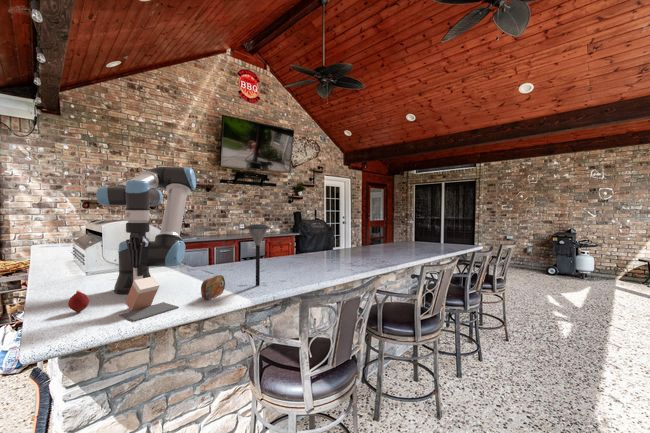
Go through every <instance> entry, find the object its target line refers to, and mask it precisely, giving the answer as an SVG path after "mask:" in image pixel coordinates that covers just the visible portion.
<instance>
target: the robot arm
mask: <svg viewBox="0 0 650 433" xmlns="http://www.w3.org/2000/svg"><path fill="white" fill-rule="evenodd" d="M196 187H197V180H196V174H195V172H194V169H193V168H191V167H185V166H183V167H182V166H157V167H153V168H150V169H149V168H148V169H146V170H144V171H141V172H140V173H139V174H138V176H135V177H133V178H130V179H128V180H125V181H124V182H121V183H119V184H117V185H113V186H101V187H99V188H98V189H97V190H96V194H95V197H96V202H97V203H98V204H99V205H101V206H109V207H125V213H124V216H125V221H127V222H126V223H125V232H126V233H127V234H128V233H129V239H126V240H123V241H121V242H120V243H119V244H118V250H117V251H118V252H117V253H118V276H117V280H115V281H116V282H115V285H114V294H117V295H118V294H120V295H128V294H129V291H130V289H131V286H132V284H133V281H134V280H138V279H143V278H148V277H152V275H151V273H150V267H151V268H153V267H154V268H155V267H158V268H159V267H167V268H169V267H170V268H171V267H176V266H177V267H178V266H179V265H180V264H181V263H182V262H183V261H184V258H185V255H186V244H185V242H184V241H183V238H182V237H181V236H180V235H181V232H182V231H181V230H182V224H183V218H184V214H185V208H186V204H187V203H186V202H187V198H188V196H190V194H192V191H194V190H196ZM160 189H163V190H166V191H167V193H168V194H167V198H166V202H165V208H164V212H163V217H162V222H161V228H160V231H159V233H158V234H156V235H155V237H154V241H150V239H149V238H148V237H147V235H146V234H147V233H149V232H150V229H151V228H150V223H149V221H150V214H151V213H150V207H153V208H154V207H156V206H159V205H161V203H162V202H163V200H164V196H163V193H162V192H161V191H160Z"/></svg>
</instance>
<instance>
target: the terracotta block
mask: <svg viewBox="0 0 650 433" xmlns="http://www.w3.org/2000/svg"><path fill="white" fill-rule="evenodd" d="M160 286H161V285H160V283H159V282H158V281H157V280H156V278H155V277H154V276H153V275H152V276H151V277H148V278H143V279H138V280H134V281H133V284H132V286H131V289H130V291H129V294H127V297H126V300H125V304H126V305H127V308H129V310H130V311H133V310H137V309H140V308H144V307H148V306H151V305H153V301H154V299H155V297H156V295H157V293H158V291H159V288H160Z"/></svg>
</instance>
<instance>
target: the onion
mask: <svg viewBox="0 0 650 433" xmlns="http://www.w3.org/2000/svg"><path fill="white" fill-rule="evenodd" d="M89 304H90V299H89V296H88V295H87V294H85V293H84V292H81V291H80V290H76V292H75V293H74V294H73V295H72V296H71V297H70V298H69V300H68V307H69V309H70V310H72V311H74V312H75V313H77V314H78V313H81V312H82V311H84V310H86V309H87V308H88V306H89Z"/></svg>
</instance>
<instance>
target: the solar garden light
mask: <svg viewBox="0 0 650 433" xmlns="http://www.w3.org/2000/svg"><path fill="white" fill-rule="evenodd" d="M244 229H246V230H248V231H249V233H250V236H251V238H252V240H253V243H254V244H255V287H260V285H261V283H260V282H261V281H260V280H261V278H260V277H261V275H260V273H261V272H260V271H261V270H260V269H261V267H260V264H261V262H260V261H261V260H260V259H261V251H260V250H261V247H260V246H261V243H262V241H263V239H264V238H265V237H264V236H265V234H266V232H267V230H270V229H271V227H270V226H268V225H266V224H264V223H263V224H262V223H261V224H260V223H257V224H256V223H255V224H250V225H248V226H246V227H245V228H244Z"/></svg>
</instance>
